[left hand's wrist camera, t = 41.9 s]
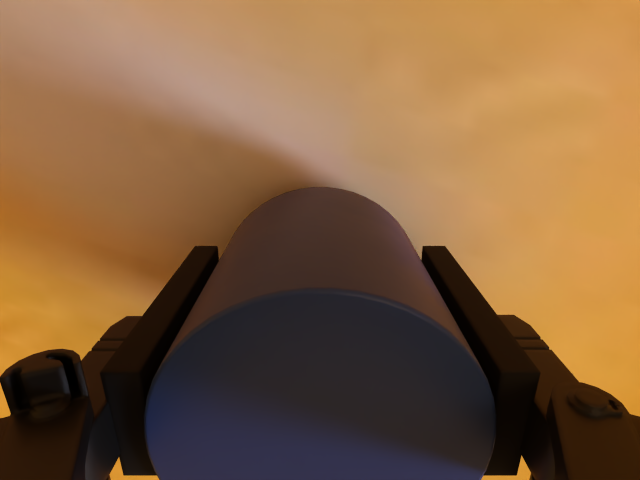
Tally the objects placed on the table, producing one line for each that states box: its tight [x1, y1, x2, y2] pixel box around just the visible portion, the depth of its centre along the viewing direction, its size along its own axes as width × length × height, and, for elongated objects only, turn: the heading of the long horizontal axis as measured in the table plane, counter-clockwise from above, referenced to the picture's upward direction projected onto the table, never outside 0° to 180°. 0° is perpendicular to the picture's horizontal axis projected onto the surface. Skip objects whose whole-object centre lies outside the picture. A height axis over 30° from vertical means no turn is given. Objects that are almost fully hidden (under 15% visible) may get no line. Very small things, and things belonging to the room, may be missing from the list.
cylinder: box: [144, 187, 496, 480], centre depth 12 cm, size 7×7×7 cm
